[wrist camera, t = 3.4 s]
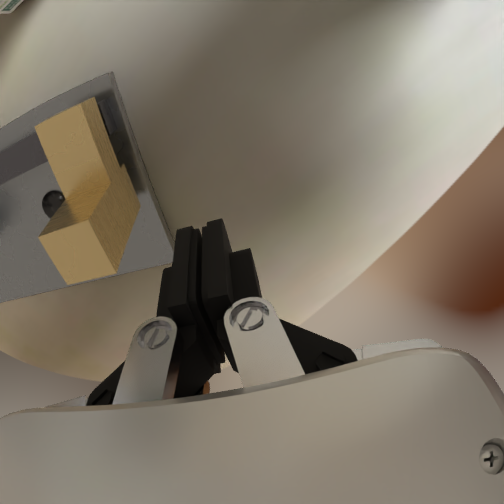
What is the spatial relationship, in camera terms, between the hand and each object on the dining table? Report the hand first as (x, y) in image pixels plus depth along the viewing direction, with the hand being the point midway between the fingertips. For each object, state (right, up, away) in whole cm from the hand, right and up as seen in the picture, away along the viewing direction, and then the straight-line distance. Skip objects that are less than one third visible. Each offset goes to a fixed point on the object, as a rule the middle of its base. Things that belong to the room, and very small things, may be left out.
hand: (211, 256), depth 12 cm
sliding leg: (-8, +6, +6) cm, 11 cm away
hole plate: (-16, +3, +8) cm, 19 cm away
